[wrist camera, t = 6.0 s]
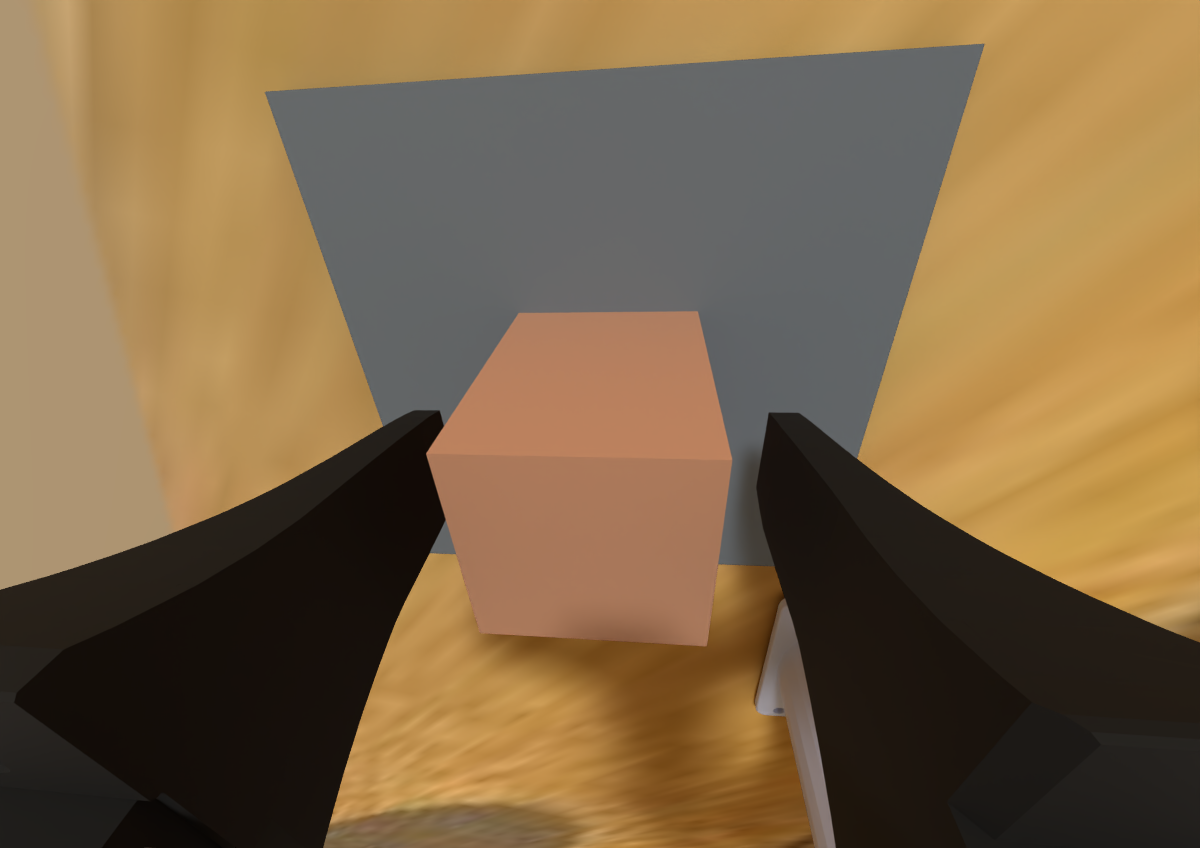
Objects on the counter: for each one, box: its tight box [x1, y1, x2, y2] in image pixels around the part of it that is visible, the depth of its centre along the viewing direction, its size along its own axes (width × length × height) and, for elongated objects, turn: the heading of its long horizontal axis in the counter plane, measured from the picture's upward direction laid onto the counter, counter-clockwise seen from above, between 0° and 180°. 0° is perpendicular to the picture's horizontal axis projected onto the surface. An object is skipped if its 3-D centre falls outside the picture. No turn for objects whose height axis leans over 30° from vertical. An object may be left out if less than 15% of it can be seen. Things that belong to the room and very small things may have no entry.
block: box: [426, 311, 732, 646], centre depth 11 cm, size 4×4×6 cm
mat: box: [265, 44, 984, 566], centre depth 13 cm, size 14×14×1 cm
